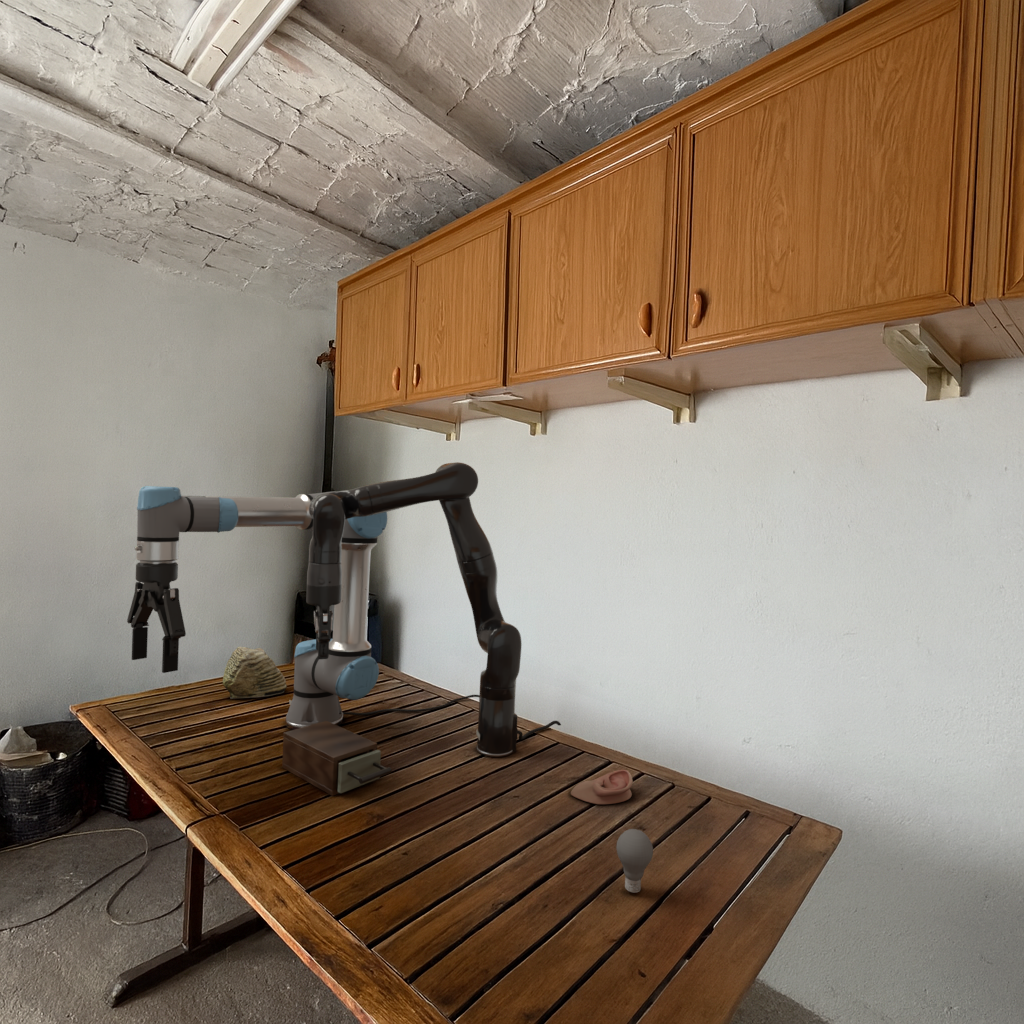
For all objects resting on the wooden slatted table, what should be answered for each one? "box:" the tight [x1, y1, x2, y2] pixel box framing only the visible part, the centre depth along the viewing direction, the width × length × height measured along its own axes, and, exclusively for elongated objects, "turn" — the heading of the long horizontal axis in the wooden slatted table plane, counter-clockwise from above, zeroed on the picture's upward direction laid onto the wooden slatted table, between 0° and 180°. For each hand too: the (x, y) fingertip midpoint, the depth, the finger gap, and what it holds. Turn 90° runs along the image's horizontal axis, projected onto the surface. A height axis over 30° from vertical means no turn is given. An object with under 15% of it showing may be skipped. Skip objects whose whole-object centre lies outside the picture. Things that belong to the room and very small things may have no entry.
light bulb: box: [615, 828, 654, 894], centre depth 106 cm, size 6×6×10 cm
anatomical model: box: [570, 769, 634, 805], centre depth 141 cm, size 13×4×12 cm
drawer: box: [337, 749, 392, 794], centre depth 142 cm, size 24×10×6 cm, turn 50°
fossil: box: [222, 646, 288, 699], centre depth 198 cm, size 9×18×15 cm, turn 132°
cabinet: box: [281, 721, 378, 797], centre depth 145 cm, size 20×12×8 cm, turn 50°
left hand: (154, 665), depth 130 cm, fingers open, 13 cm apart
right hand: (321, 654), depth 143 cm, fingers open, 8 cm apart
